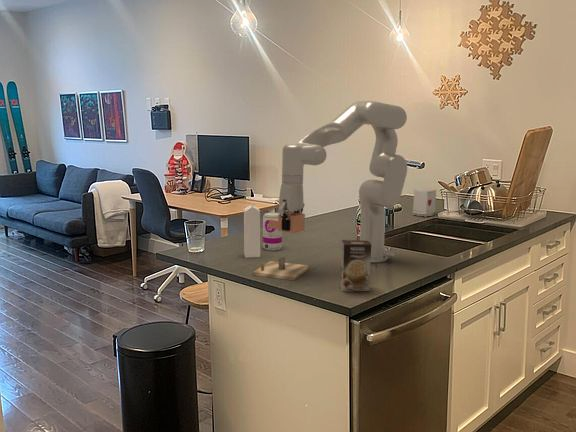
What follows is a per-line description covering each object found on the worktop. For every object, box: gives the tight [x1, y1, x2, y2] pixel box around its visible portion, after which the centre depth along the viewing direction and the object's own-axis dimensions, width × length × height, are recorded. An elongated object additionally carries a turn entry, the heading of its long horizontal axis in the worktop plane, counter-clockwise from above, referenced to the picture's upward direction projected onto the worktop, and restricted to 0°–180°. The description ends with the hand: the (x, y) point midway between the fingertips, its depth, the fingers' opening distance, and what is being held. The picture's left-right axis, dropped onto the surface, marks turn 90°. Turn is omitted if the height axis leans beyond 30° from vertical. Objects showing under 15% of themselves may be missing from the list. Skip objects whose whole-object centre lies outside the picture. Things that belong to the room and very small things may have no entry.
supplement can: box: [262, 212, 283, 252], centre depth 244 cm, size 8×8×15 cm
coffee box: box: [339, 239, 372, 292], centre depth 190 cm, size 9×6×16 cm
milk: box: [243, 200, 261, 259], centre depth 232 cm, size 6×6×22 cm
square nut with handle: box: [269, 212, 306, 234], centre depth 209 cm, size 12×7×6 cm, turn 58°
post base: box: [252, 257, 310, 281], centre depth 211 cm, size 16×16×5 cm
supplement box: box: [412, 187, 437, 214], centre depth 320 cm, size 9×9×15 cm
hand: (291, 228), depth 208 cm, fingers closed on square nut with handle, 7 cm apart
